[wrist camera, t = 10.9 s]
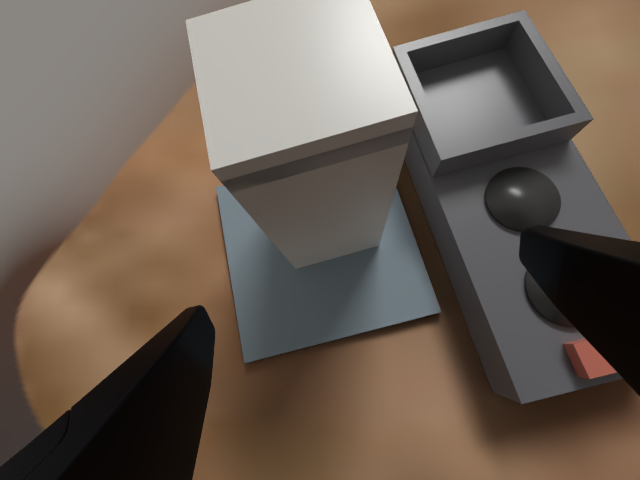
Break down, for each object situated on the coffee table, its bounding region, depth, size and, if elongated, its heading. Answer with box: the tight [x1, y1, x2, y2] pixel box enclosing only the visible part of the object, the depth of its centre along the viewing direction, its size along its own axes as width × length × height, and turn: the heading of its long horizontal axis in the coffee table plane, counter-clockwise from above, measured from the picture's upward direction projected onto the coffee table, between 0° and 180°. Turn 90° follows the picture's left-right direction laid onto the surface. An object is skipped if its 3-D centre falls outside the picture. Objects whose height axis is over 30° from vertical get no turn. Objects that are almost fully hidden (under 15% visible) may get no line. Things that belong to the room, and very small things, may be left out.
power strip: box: [392, 10, 631, 404], centre depth 14 cm, size 16×7×4 cm, turn 14°
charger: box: [186, 0, 418, 269], centre depth 12 cm, size 4×4×10 cm
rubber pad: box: [216, 185, 441, 363], centre depth 16 cm, size 10×10×1 cm
